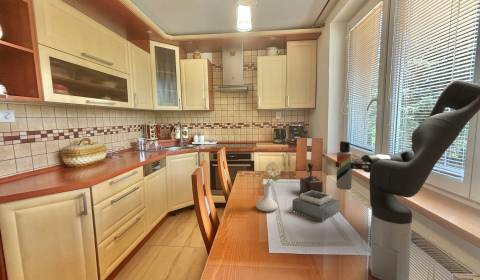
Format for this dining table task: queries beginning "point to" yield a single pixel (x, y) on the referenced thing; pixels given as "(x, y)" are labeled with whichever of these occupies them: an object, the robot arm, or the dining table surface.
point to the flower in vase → (266, 201)
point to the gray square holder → (316, 205)
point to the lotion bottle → (344, 166)
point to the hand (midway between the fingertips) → (336, 164)
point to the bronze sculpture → (310, 182)
